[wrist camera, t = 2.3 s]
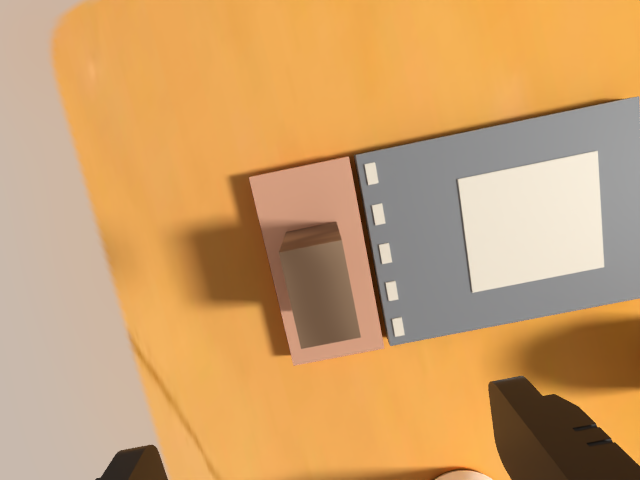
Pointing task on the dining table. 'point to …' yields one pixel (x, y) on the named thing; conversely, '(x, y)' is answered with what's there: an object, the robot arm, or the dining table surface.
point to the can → (463, 475)
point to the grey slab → (505, 221)
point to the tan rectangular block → (318, 260)
